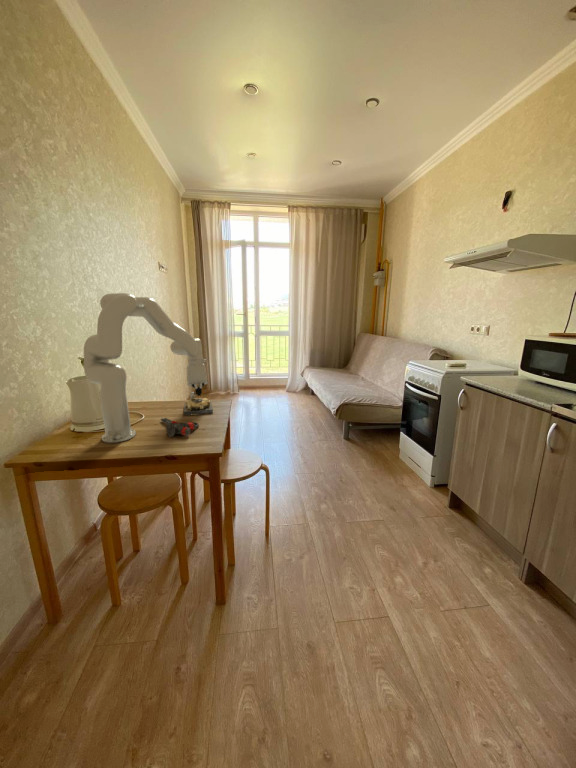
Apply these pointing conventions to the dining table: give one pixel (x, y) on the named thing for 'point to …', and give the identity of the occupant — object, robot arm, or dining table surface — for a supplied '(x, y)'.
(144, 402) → the dining table surface
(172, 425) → the grey red jointed piece
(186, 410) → the base plate
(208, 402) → the beige lumpy block
